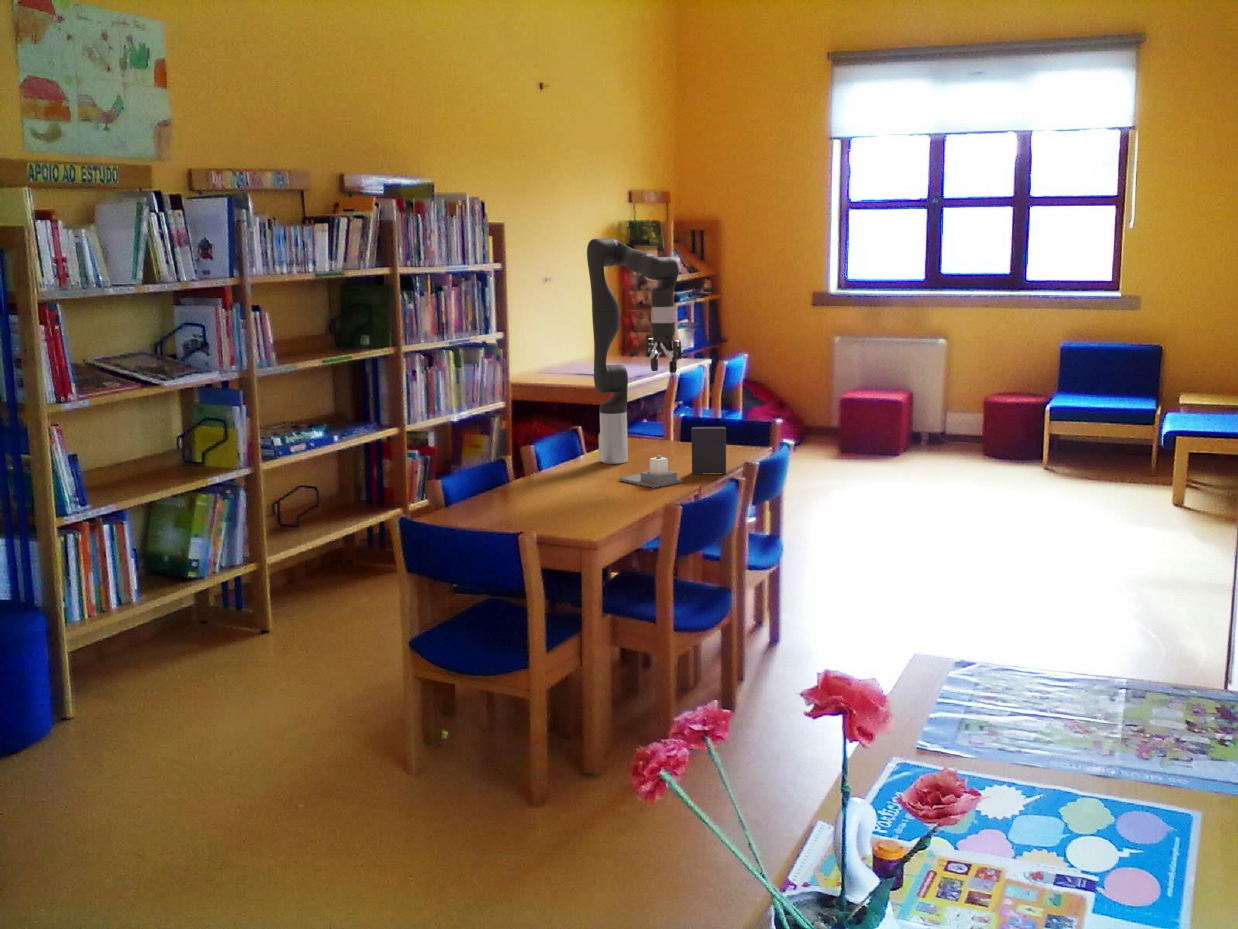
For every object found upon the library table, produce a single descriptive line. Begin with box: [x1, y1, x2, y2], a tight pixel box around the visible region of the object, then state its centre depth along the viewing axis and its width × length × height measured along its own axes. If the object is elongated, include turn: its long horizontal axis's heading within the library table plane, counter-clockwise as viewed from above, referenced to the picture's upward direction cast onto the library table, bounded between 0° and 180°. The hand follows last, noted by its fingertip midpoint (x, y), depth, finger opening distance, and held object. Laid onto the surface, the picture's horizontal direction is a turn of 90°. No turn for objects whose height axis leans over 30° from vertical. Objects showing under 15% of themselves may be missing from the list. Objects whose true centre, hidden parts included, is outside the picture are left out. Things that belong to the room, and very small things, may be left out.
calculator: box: [690, 426, 727, 475], centre depth 386 cm, size 11×4×15 cm, turn 84°
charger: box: [649, 454, 669, 475], centre depth 373 cm, size 4×4×8 cm
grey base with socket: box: [618, 470, 682, 489], centre depth 377 cm, size 16×12×4 cm
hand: (663, 371), depth 383 cm, fingers open, 8 cm apart
